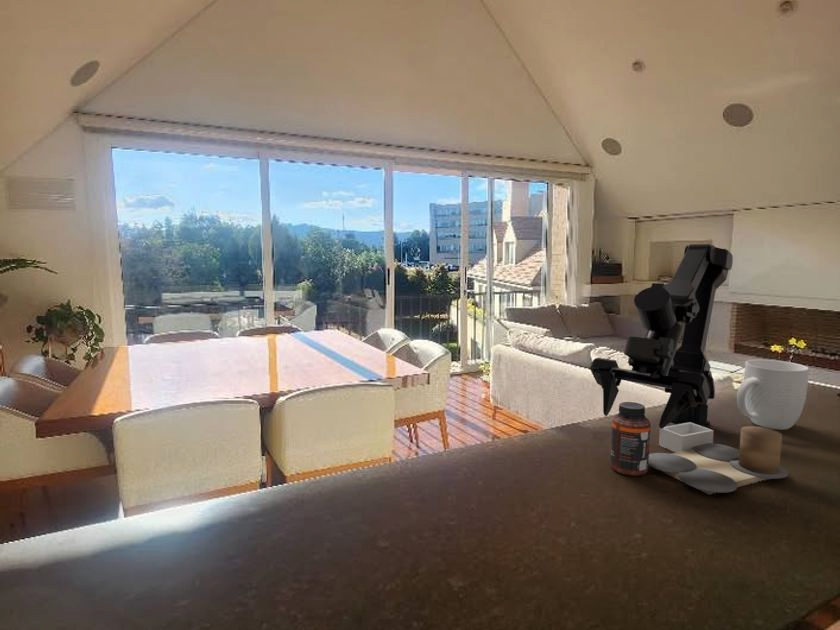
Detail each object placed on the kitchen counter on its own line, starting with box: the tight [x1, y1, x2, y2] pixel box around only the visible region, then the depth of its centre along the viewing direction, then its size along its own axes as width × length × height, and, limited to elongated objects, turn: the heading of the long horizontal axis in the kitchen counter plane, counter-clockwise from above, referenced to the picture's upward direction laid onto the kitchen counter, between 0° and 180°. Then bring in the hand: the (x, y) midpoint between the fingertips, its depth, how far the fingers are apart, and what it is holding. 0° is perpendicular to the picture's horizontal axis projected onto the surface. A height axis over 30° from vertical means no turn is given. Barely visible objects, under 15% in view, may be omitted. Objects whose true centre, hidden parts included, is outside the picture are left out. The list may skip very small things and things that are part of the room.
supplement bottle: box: [610, 401, 651, 477], centre depth 84 cm, size 6×6×11 cm
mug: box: [736, 359, 810, 431], centre depth 106 cm, size 15×11×13 cm
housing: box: [658, 422, 715, 453], centre depth 95 cm, size 5×8×4 cm, turn 113°
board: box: [648, 425, 789, 495], centre depth 84 cm, size 15×20×7 cm
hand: (631, 420), depth 84 cm, fingers open, 9 cm apart
